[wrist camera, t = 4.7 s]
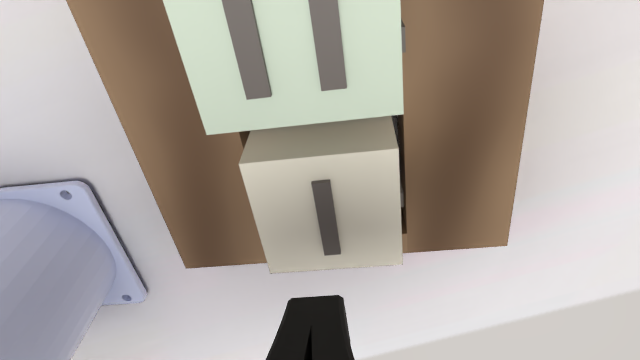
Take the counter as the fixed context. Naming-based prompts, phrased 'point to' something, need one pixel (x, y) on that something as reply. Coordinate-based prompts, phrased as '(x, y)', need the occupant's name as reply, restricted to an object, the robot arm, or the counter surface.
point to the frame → (413, 126)
